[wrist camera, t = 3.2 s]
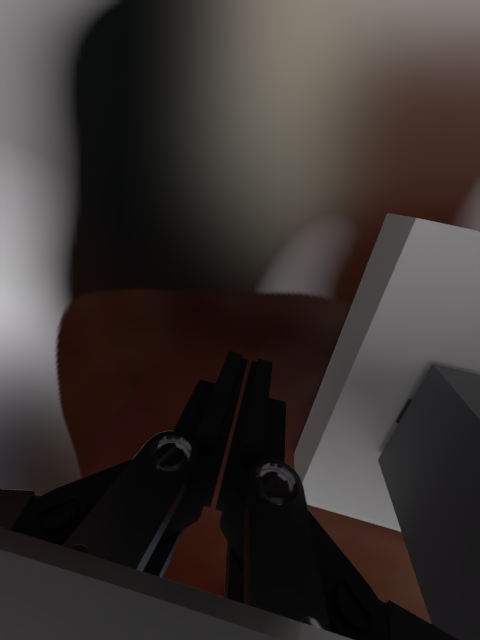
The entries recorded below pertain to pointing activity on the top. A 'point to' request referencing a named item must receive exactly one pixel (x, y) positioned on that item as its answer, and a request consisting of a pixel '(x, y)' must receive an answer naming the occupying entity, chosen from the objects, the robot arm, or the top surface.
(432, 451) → the fader knob
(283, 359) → the top surface
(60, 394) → the top surface
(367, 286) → the panel
